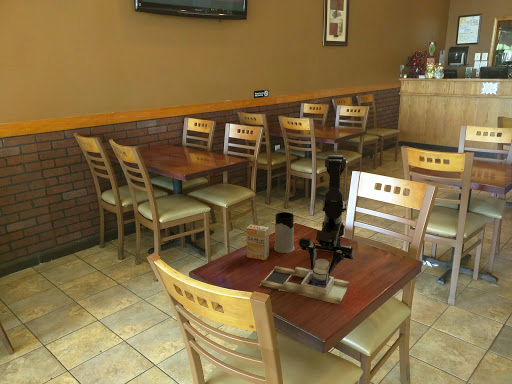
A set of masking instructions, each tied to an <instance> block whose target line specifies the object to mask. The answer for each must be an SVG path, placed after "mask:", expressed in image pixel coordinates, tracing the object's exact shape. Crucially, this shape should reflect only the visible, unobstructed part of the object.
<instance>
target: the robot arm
mask: <svg viewBox="0 0 512 384" xmlns="http://www.w3.org/2000/svg"><path fill="white" fill-rule="evenodd" d="M327 156H328V157H325V158H324V168H325V169H326V172H327V173H328V176H329V179H328V180H329V184H328V191H327V192H326V193H325V198H324V199H323V200H322V212H324V219H323V221H322V226H321V230H317V231H316V236H315V241H316V242H317V243H316V242H313V240H312V239H311V238H305V237H301V238H299V240H298V246H299V247H300V249H301V250H302V251H306V252H307V253H308V254H309V258H310V259H309V260H310V261H309V262H310V270H313V268H314V266H315V261H316V260H317V255H318V253H317V250H320V251H324V252H331V253H333V254H332V259H331V261H330V263H329V271H328V274H331V273H332V272H333V271H334V269H335V268H336V267H337V266H338V264H340V262H341V261H345V259H346V260H347V259H348V260H354V259H355V254H356V253H355V251H354V248H353V246H350V245H345V244H341V242H342V241H341V237H343V236H345V225H344V222H342V221H343V218H342V217H343V213H345V212H347V203H346V202H345V200H343V198H344V195H343V193H342V191H341V176H342V174H343V172H344V169H346V167H347V166H346V165H347V158H346V157H344V155H343V154H342V155H341V154H340V155H339V154H328V155H327Z"/></svg>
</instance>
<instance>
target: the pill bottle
mask: <svg viewBox="0 0 512 384" xmlns="http://www.w3.org/2000/svg"><path fill="white" fill-rule="evenodd" d="M329 267H330V261H329V260H328V259H325V258H316V260H315V265H314V268H313V275H312V280H311V285H314V286H318V287H322V288H325V287H326V286H327V284H328V283H329V276H330V274H331V273H330V274H328V271H329Z"/></svg>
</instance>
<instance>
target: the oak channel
mask: <svg viewBox="0 0 512 384" xmlns="http://www.w3.org/2000/svg"><path fill="white" fill-rule="evenodd" d="M273 270H274V271H278V272H282V273H287V274H292V277H293V276H295V277H297V278H298V277H299V278H305V277H306V276H307V274H308V273H309V272H312V273H313V270H311V268H310V269H309V268H304V267H300V266H296V267H295V269H293V268H287V267H283V266H277V265H275V266H274V267H273ZM260 284H261V285H263V286H267V287H271V288H275V289H280V291H283V292H285V293H286V292H287V293H290V294H295V295H298V296H302V297H306V298H311V299H315V300H318V301H324V302H328V303H332V304H336V305H340V304H341V301H342V300H341V298H338V297H334V296H330V295H325V294H321V293H317V292H316V288H313V287H308V286H304V285H301V283H300V284H299V283H294V282H290V281H287V282H286V281H285V282H284V283H283V284H279V283H274V282H270V281H266V280H264V279H262V280H261V281H260ZM334 284H335V285H340V286H344V287H348V288H349V285H350V281H346V280H342V279H338V278H334Z"/></svg>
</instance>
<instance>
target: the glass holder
mask: <svg viewBox="0 0 512 384" xmlns="http://www.w3.org/2000/svg"><path fill="white" fill-rule="evenodd" d="M294 216H295V215H294V213H293V212H292V211H290V212H287V211H285V212H284V211H282V212H278V213H276V214H275V224H274V225H275V226H274V246H273V249H274V251H275V252H277V253H281V254H286V253H287V254H288V253H289V254H290V253H291V252H293V251H295V246H294V241H295V240H294V239H295V225H294V224H295V223H294Z"/></svg>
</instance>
